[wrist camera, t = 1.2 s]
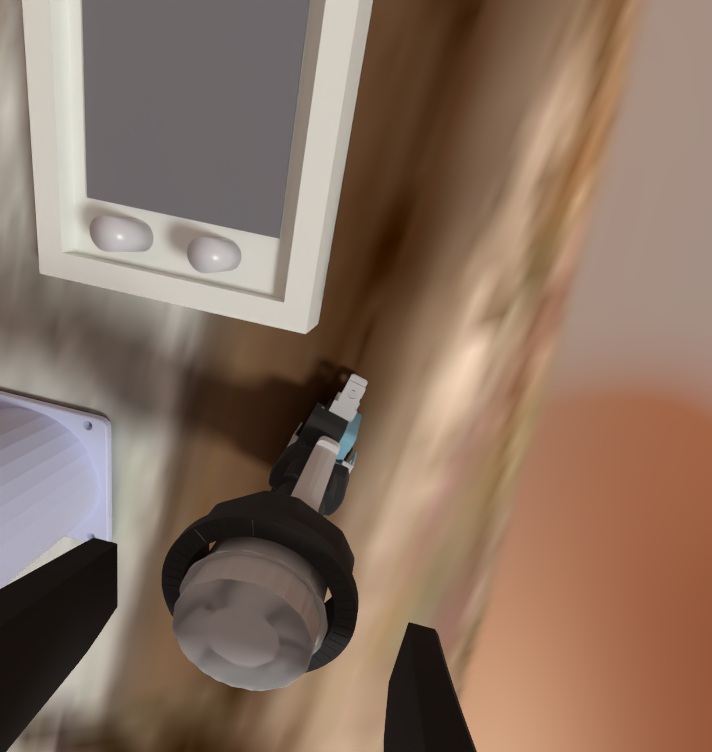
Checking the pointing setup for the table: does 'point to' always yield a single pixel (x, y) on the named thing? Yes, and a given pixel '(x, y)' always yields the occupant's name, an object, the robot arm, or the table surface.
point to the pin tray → (194, 147)
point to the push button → (273, 564)
